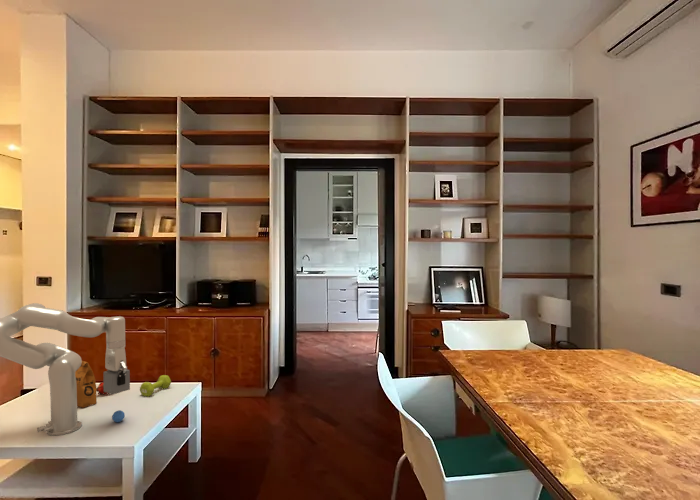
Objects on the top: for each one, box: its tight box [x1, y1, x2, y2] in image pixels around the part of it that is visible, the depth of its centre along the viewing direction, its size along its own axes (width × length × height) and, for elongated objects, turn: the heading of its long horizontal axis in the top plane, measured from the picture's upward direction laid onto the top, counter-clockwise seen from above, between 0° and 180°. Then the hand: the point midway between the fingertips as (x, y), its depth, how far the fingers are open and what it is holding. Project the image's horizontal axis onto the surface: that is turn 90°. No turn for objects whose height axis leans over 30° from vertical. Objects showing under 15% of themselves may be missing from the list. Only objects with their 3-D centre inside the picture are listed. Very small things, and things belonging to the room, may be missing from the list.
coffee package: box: [75, 360, 97, 409], centre depth 209 cm, size 10×12×22 cm
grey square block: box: [103, 368, 131, 395], centre depth 186 cm, size 8×8×9 cm
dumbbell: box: [139, 374, 172, 398], centre depth 226 cm, size 16×8×7 cm, turn 161°
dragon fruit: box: [96, 380, 111, 396], centre depth 223 cm, size 8×8×12 cm
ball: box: [111, 410, 126, 423], centre depth 187 cm, size 5×5×5 cm
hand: (116, 382), depth 186 cm, fingers closed on grey square block, 7 cm apart
